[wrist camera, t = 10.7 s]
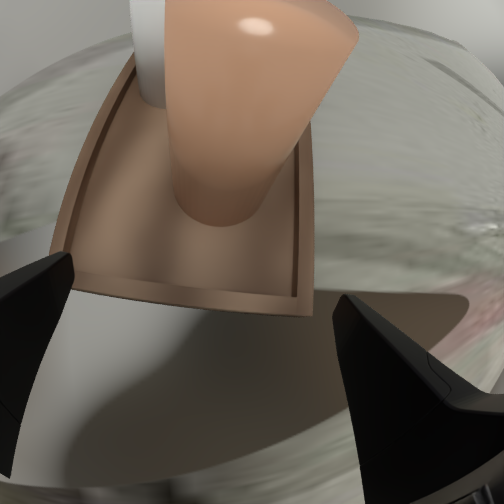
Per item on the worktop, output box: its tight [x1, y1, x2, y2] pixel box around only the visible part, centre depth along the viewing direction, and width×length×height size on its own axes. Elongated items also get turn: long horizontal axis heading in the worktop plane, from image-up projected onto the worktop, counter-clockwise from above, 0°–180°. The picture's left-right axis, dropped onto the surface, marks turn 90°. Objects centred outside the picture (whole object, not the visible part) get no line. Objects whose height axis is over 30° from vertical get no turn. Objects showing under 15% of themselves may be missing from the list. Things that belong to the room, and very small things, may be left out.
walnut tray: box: [49, 52, 314, 317], centre depth 18 cm, size 16×22×2 cm
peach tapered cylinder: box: [164, 0, 359, 227], centre depth 12 cm, size 6×6×12 cm
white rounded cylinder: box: [130, 0, 166, 109], centre depth 14 cm, size 6×6×10 cm
